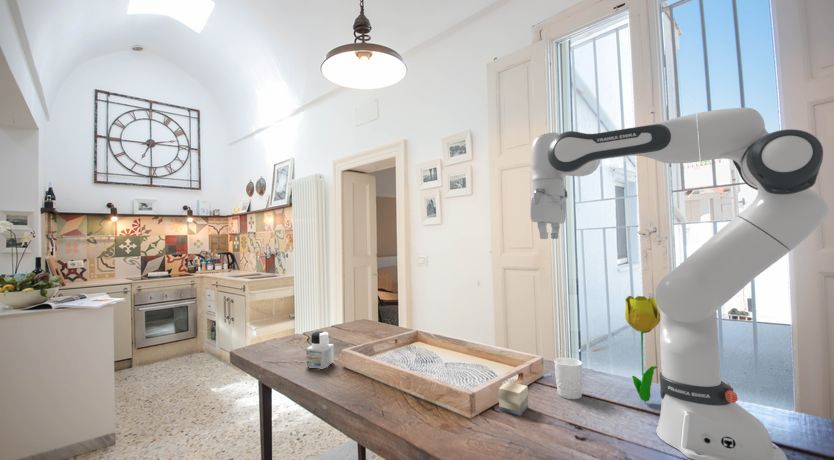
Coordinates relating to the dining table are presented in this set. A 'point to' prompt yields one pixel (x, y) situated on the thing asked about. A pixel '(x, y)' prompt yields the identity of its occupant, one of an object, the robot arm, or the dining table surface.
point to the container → (320, 351)
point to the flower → (642, 319)
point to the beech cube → (513, 398)
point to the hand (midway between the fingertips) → (549, 238)
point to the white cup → (568, 377)
